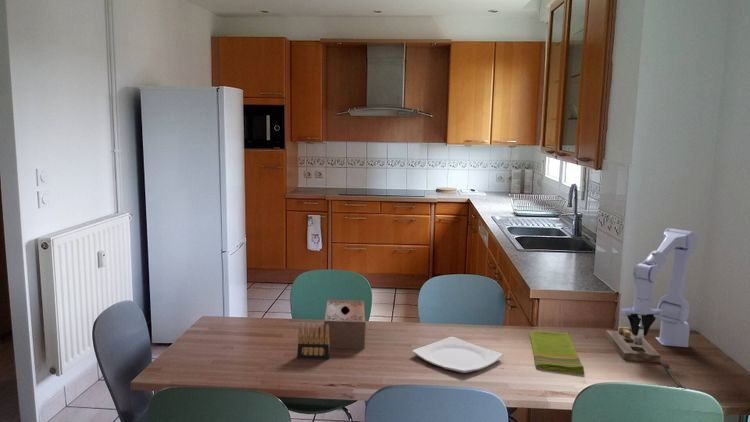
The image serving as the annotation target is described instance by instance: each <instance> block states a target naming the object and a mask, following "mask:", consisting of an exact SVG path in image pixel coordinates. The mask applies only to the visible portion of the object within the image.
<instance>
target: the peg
mask: <svg viewBox="0 0 750 422" xmlns="http://www.w3.org/2000/svg"><path fill="white" fill-rule="evenodd" d="M644 329H645V325H643V324H642V323H639V327H638V334H637V336H635V335H634V344H635V345H643V338H644V336H645V335H644Z"/></svg>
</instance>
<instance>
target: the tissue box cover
mask: <svg viewBox="0 0 750 422" xmlns="http://www.w3.org/2000/svg"><path fill="white" fill-rule="evenodd" d="M365 309H366V307H365V301H364V300H344V299H343V300H342V299H341V300H339V299H327V301H326V307H325V314H324V320H323V328H324V338H325V329H326V325H327V324H328V326H329V349H330V348H331V349H363V350H364V349H365V347H366V346H365V344H366V312H365Z"/></svg>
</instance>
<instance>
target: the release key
mask: <svg viewBox="0 0 750 422" xmlns="http://www.w3.org/2000/svg"><path fill="white" fill-rule="evenodd" d="M617 331H618V333H622V334H623V335H624V337H630V335H631V332H632V331H631V327H630V326H629V327H628V326H618V328H617Z"/></svg>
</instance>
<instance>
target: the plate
mask: <svg viewBox="0 0 750 422" xmlns="http://www.w3.org/2000/svg"><path fill="white" fill-rule="evenodd" d="M411 352H412V353H413V354H414V355H415V356H417V357H419V358H420V359H421V360H424V361H426V362H427V363H430V364H432V365H435V366H438V367H440V368H442V369H446V370H449V371H453V372H458V373H461V374H466V373H472V372H476V371H479V370H483V369H485V368H487V367H489V366H491V365H494V363H496V362H497V361H498V360H499V359H501V358H502V357H503V356H504V353H502V352H499V351H496V350H495V351H494V350H492V349H488V348H485V347H483V346H478V345H477V344H474V343H471V342H468V341H465V340H464V339H460V338H457V337H455V336H449V337H446V338H443V339H441V340H438V341H435V342H432V343H430V344H427V345H424V346H421V347H418V348H414V349H412V350H411Z"/></svg>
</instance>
